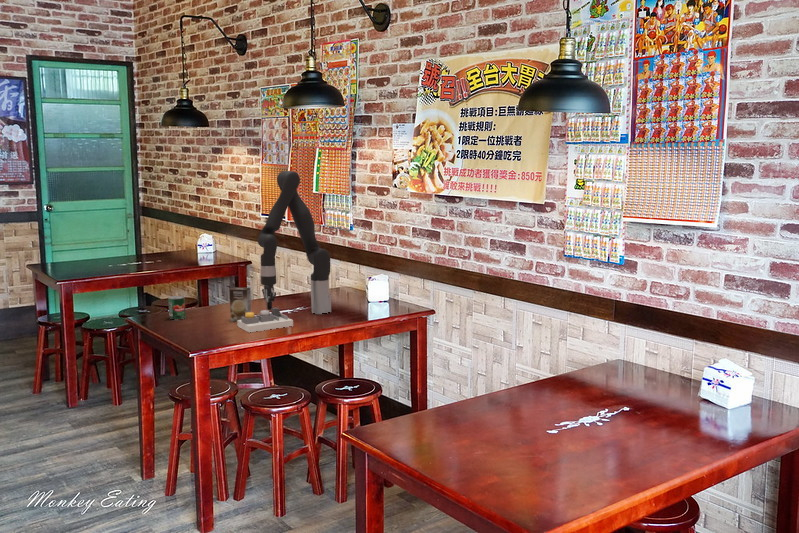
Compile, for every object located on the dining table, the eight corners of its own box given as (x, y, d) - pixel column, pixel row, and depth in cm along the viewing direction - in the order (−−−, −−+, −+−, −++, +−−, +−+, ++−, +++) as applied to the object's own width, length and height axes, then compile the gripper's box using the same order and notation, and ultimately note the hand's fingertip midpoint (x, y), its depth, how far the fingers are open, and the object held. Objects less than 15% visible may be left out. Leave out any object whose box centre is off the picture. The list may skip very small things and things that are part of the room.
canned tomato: (175, 316, 376) (174, 295, 375) (189, 317, 374) (187, 296, 372) (166, 319, 369) (164, 298, 367) (179, 320, 366) (178, 299, 365)
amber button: (252, 317, 351) (252, 311, 350) (255, 319, 348) (255, 313, 347) (244, 318, 349) (244, 312, 348) (247, 320, 346) (247, 314, 345)
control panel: (280, 320, 365) (280, 309, 364) (293, 326, 352) (292, 314, 351) (237, 326, 353) (237, 315, 353) (249, 332, 341) (248, 321, 340)
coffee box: (230, 321, 363) (228, 289, 361) (234, 318, 370) (232, 287, 367) (248, 321, 363) (246, 289, 360) (252, 319, 369) (250, 287, 366)
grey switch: (267, 315, 355) (267, 309, 354) (270, 317, 352) (270, 311, 351) (259, 316, 353) (259, 310, 352) (262, 318, 349) (262, 312, 349)
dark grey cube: (277, 315, 361) (277, 307, 361) (279, 316, 359) (279, 308, 358) (271, 316, 360) (271, 308, 359) (273, 317, 357) (273, 309, 357)
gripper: (281, 275, 359) (282, 310, 361) (270, 272, 370) (271, 306, 372) (266, 277, 355) (267, 312, 357) (256, 273, 366) (257, 308, 368)
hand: (269, 309), depth 365 cm, fingers closed
